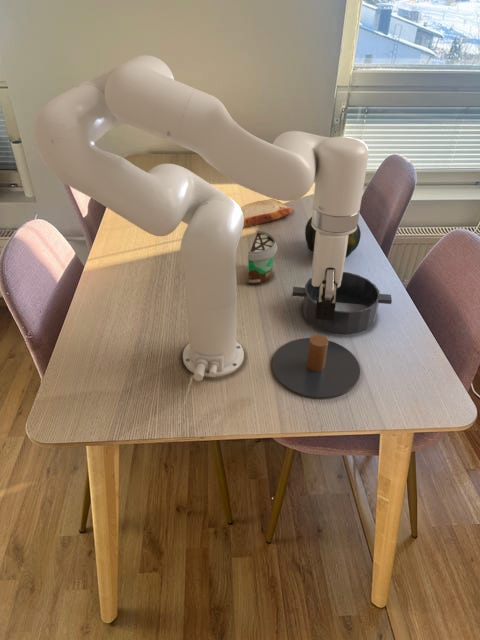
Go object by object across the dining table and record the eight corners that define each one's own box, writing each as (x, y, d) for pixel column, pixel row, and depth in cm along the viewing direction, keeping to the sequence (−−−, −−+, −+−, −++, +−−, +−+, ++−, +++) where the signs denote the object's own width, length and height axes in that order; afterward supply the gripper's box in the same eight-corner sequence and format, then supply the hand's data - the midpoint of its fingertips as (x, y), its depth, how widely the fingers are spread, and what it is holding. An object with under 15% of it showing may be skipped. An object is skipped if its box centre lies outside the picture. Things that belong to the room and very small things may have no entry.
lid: (361, 405, 96) (368, 375, 92) (267, 395, 98) (269, 366, 93) (357, 345, 110) (362, 317, 105) (275, 338, 112) (277, 310, 107)
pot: (390, 340, 112) (396, 316, 108) (289, 331, 114) (291, 307, 110) (383, 297, 125) (388, 275, 121) (293, 290, 127) (294, 268, 123)
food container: (271, 290, 127) (273, 255, 121) (247, 288, 128) (248, 252, 122) (278, 265, 136) (280, 231, 130) (255, 263, 137) (257, 229, 131)
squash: (307, 252, 131) (348, 207, 127) (287, 228, 143) (324, 186, 139) (342, 279, 139) (381, 237, 134) (320, 254, 150) (356, 214, 146)
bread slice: (225, 227, 154) (225, 215, 152) (239, 202, 168) (239, 191, 166) (284, 234, 151) (285, 222, 148) (294, 208, 165) (295, 197, 162)
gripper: (312, 194, 91) (304, 276, 101) (310, 240, 77) (301, 330, 88) (355, 197, 90) (343, 279, 101) (361, 244, 77) (346, 333, 87)
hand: (324, 302), depth 94 cm, fingers open, 9 cm apart
